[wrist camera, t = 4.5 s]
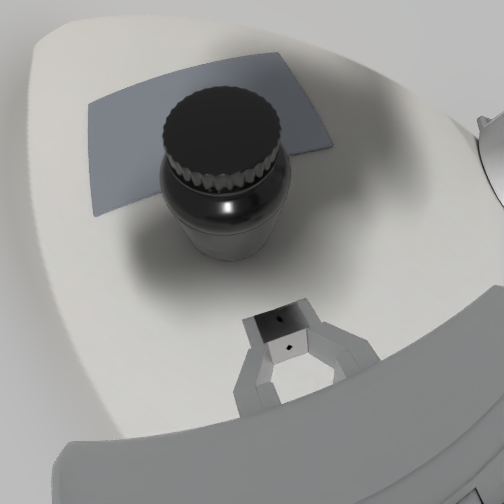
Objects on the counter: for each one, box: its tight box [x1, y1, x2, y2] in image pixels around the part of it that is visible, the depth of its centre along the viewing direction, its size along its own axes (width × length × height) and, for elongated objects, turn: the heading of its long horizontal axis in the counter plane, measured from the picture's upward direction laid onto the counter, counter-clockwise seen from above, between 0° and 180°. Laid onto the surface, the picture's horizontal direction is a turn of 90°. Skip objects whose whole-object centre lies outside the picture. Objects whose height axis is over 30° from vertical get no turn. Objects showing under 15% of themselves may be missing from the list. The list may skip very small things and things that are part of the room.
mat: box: [88, 52, 333, 217], centre depth 23 cm, size 22×14×1 cm, turn 108°
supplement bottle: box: [159, 85, 291, 261], centre depth 16 cm, size 7×7×12 cm
